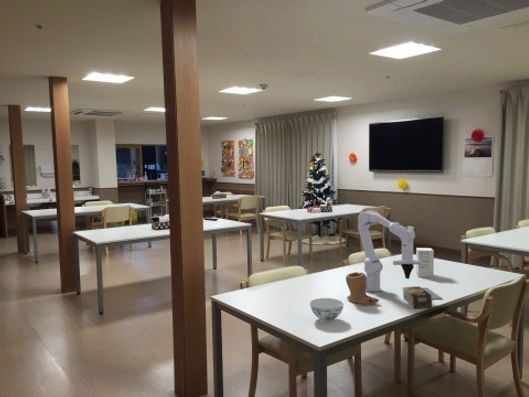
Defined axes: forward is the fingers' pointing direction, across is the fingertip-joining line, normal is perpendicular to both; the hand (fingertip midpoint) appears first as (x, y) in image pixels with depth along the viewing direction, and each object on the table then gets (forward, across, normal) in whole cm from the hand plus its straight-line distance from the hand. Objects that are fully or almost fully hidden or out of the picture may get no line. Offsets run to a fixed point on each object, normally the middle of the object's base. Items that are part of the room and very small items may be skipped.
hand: (407, 278), depth 228 cm
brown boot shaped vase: (+10, -27, -7) cm, 29 cm away
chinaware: (+10, -48, -31) cm, 58 cm away
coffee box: (+7, +1, -3) cm, 7 cm away
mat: (+10, +11, +5) cm, 15 cm away
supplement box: (+10, +26, +43) cm, 51 cm away
